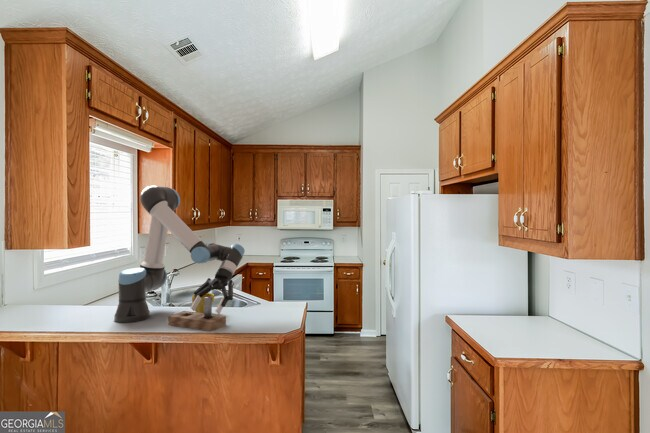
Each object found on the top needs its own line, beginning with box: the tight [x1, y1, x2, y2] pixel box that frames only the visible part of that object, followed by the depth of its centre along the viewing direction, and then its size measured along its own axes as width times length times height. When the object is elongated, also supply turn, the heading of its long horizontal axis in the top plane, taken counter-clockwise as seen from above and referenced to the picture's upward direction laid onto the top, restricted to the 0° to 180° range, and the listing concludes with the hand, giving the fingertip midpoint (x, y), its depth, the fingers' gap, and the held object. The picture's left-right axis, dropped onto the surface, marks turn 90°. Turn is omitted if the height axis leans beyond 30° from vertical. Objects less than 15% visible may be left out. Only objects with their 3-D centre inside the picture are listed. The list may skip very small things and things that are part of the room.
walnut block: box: [167, 310, 227, 332], centre depth 168 cm, size 24×10×4 cm, turn 69°
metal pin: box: [204, 297, 213, 319], centre depth 166 cm, size 3×3×12 cm
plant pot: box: [191, 292, 215, 313], centre depth 185 cm, size 10×10×10 cm
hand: (204, 310), depth 164 cm, fingers open, 13 cm apart
